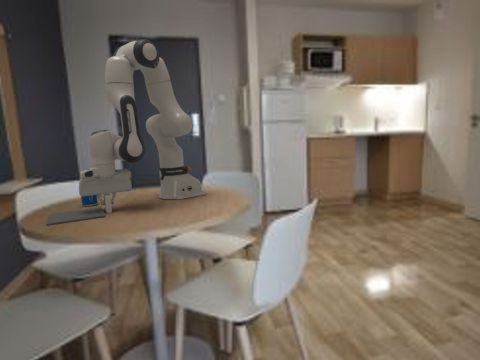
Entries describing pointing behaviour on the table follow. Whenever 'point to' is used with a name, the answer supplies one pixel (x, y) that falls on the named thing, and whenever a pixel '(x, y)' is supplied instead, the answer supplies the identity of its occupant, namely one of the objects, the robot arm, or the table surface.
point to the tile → (107, 203)
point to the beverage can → (89, 200)
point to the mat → (75, 216)
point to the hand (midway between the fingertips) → (107, 204)
